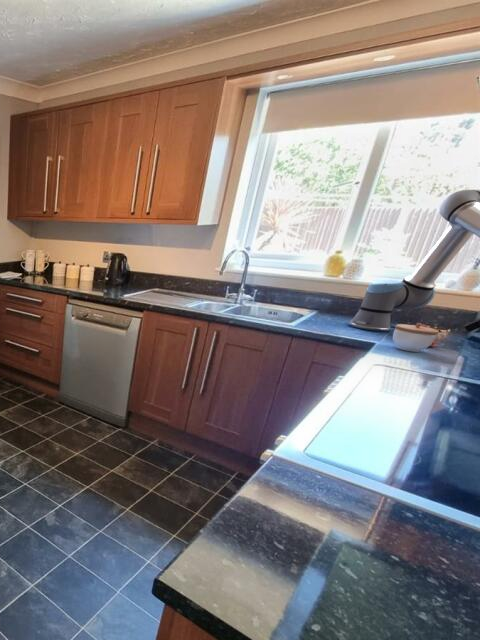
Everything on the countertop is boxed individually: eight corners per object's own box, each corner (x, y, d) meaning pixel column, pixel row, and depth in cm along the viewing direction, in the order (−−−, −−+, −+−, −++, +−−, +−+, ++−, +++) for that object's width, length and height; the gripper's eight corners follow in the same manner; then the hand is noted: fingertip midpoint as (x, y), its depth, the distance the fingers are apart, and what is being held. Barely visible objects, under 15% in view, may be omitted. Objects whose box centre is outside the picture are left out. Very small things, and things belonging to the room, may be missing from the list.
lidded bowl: (433, 355, 168) (446, 328, 164) (391, 349, 174) (403, 323, 170) (423, 348, 178) (435, 322, 174) (383, 343, 184) (394, 318, 180)
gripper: (572, 301, 146) (480, 340, 160) (548, 296, 157) (464, 333, 171) (557, 284, 147) (467, 324, 160) (535, 280, 157) (452, 318, 171)
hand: (466, 328), depth 165 cm, fingers closed
